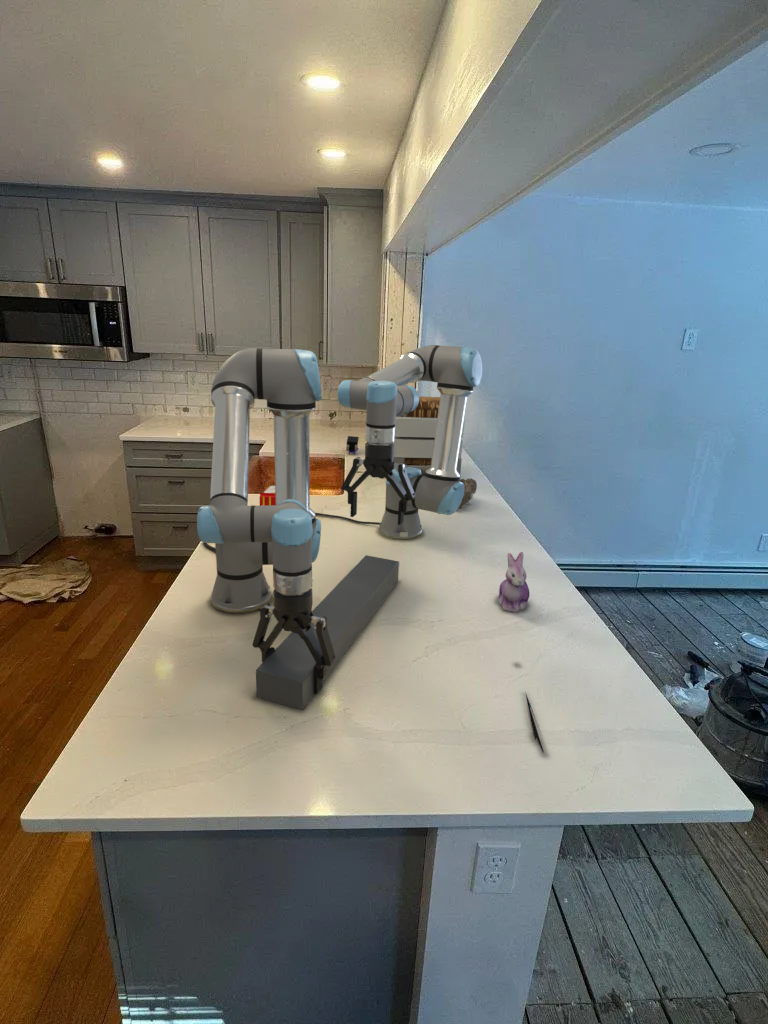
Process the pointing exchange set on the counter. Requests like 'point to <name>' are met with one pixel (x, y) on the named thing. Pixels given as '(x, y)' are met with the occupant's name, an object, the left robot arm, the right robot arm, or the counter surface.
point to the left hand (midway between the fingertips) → (294, 683)
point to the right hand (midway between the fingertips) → (376, 519)
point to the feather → (534, 723)
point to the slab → (347, 615)
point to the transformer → (418, 434)
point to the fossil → (468, 491)
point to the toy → (268, 497)
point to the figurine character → (352, 444)
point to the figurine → (514, 585)
